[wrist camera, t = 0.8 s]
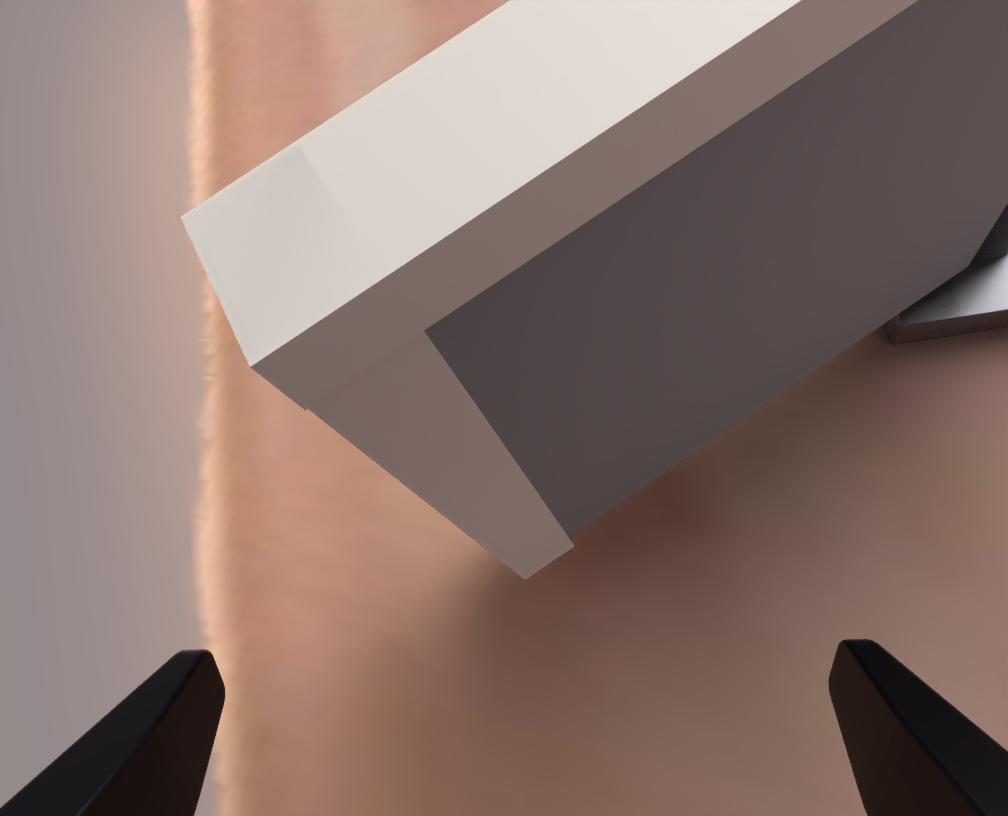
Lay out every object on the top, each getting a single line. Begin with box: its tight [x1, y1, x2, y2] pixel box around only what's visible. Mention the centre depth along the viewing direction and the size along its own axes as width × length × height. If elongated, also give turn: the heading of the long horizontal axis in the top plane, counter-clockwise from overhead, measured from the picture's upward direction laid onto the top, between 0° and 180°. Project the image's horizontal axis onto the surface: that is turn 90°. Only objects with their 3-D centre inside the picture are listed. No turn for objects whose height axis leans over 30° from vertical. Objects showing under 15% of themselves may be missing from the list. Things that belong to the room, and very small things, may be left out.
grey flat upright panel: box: [181, 0, 1008, 580], centre depth 14 cm, size 17×3×14 cm, turn 121°
